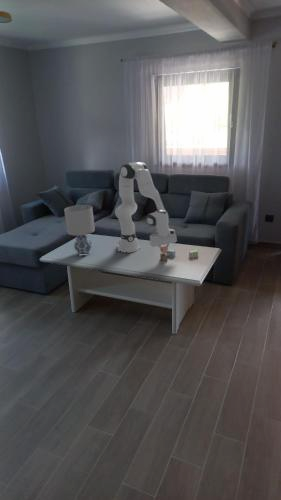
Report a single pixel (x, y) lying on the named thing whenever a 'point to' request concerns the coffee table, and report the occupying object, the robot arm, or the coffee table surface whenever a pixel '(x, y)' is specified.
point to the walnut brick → (163, 257)
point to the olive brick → (193, 254)
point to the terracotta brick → (164, 249)
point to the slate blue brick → (171, 253)
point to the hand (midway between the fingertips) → (163, 249)
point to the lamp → (80, 226)
